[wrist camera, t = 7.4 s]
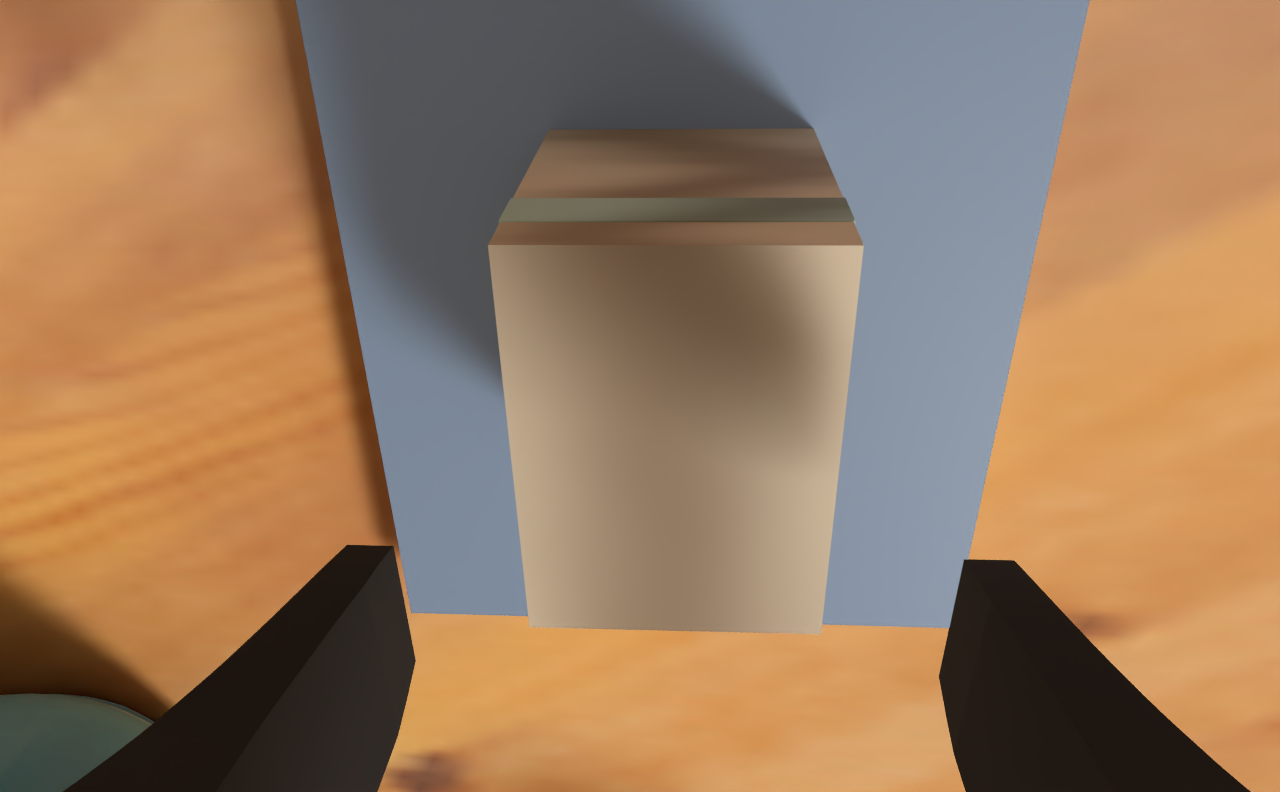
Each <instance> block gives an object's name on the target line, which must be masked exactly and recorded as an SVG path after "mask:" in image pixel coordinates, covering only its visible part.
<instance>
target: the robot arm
mask: <svg viewBox="0 0 1280 792" xmlns="http://www.w3.org/2000/svg"><path fill="white" fill-rule="evenodd" d="M415 661H416V660H415V655H414V650H413V645H412V640H411V635H410V629H409V624H408V619H407V614H406V609H405V604H404V599H403V593H402V588H401V583H400V578H399V573H398V568H397V562H396V557H395V552H394V547H393V546H367V545H347V546H345V547H344V548H343V549H342V550H341V551H340V552H339V553H338V554H337V555H336V556H335V557H334V558H333V559H332V560H331V561H330V562H328V563H327V564H326V565H325V566H324V567H323V568H322V569H321V570H320V571H319V572H318V573H317V574H316V575H315V576H314V577H313V578H312V579H311V580H310V581H309V582H308V583H307V584H306V585H305V586H304V587H303V588H302V589H301V590H300V591H299V592H298V593H297V594H296V595H294V596H293V597H292V598H291V599H290V600H289V601H288V602H287V603H286V604H285V605H284V606H283V607H282V608H281V609H280V610H279V611H278V612H277V613H276V614H275V615H274V616H273V617H272V618H271V619H270V620H269V621H268V622H267V623H266V624H264V625H263V626H262V627H261V628H260V629H259V630H258V631H257V632H256V633H255V634H254V635H253V636H252V637H251V638H250V639H248V640H247V641H246V642H245V643H244V644H243V645H242V646H241V647H240V648H239V649H238V650H237V651H236V652H235V653H233V654H232V655H231V656H230V657H229V658H228V659H227V660H226V661H225V662H224V663H223V664H222V665H220V666H219V667H218V668H217V669H216V670H215V671H214V672H213V673H212V674H210V675H209V676H208V677H207V678H206V679H205V680H203V681H202V682H201V683H200V684H199V685H198V686H196V687H195V688H194V689H193V690H192V691H191V692H189V693H188V694H187V695H186V696H185V697H184V698H183V699H181V700H180V701H179V702H178V703H177V704H176V705H174V706H173V707H172V708H171V709H170V710H169V711H167V712H166V713H165V714H164V715H163V716H162V717H160V718H159V719H158V720H157V721H155V722H154V723H153V724H152V725H151V726H149V727H148V728H147V729H146V730H144V731H143V732H142V733H141V734H139V735H138V736H137V737H135V738H134V739H133V740H132V741H130V742H129V743H128V744H126V745H125V746H124V747H123V748H121V749H120V750H119V751H117V752H116V753H115V754H113V755H112V756H111V757H109V758H108V759H107V760H105V761H104V762H102V763H101V764H100V765H98V766H97V767H96V768H94V769H93V770H92V771H90V772H89V773H88V774H86V775H85V776H84V777H82V778H81V779H79V780H78V781H77V782H75V783H74V784H73V785H71V786H70V787H68V788H67V789H65V790H64V791H63V792H377V791H378V789H379V786H380V783H381V780H382V778H383V775H384V772H385V770H386V767H387V764H388V761H389V759H390V756H391V753H392V750H393V748H394V745H395V742H396V739H397V736H398V733H399V729H400V725H401V721H402V717H403V713H404V709H405V705H406V701H407V696H408V692H409V687H410V683H411V679H412V674H413V670H414V665H415ZM939 679H940V684H941V690H942V695H943V701H944V706H945V712H946V717H947V722H948V727H949V732H950V737H951V742H952V747H953V752H954V756H955V759H956V762H957V765H958V769H959V772H960V775H961V778H962V781H963V784H964V787H965V791H966V792H1250V791H1249V790H1248V789H1247V788H1245V787H1244V786H1243V785H1242V784H1241V783H1240V782H1238V781H1237V780H1236V779H1235V778H1234V777H1232V776H1231V775H1230V774H1229V773H1228V772H1227V771H1225V770H1224V769H1223V768H1222V767H1221V766H1220V765H1218V764H1217V763H1216V762H1215V761H1214V760H1213V759H1212V758H1211V757H1210V756H1208V755H1207V754H1206V753H1205V752H1204V751H1203V750H1202V749H1201V748H1200V747H1198V746H1197V745H1196V744H1195V743H1194V742H1193V741H1192V740H1191V739H1190V738H1189V737H1187V736H1186V735H1185V734H1184V733H1183V732H1182V731H1181V730H1180V729H1179V728H1177V727H1176V726H1175V725H1174V724H1173V723H1172V722H1171V721H1170V720H1169V719H1168V718H1167V717H1166V716H1165V715H1163V714H1162V713H1161V712H1160V711H1159V710H1158V709H1157V708H1156V707H1155V706H1154V705H1153V704H1152V703H1151V702H1150V701H1149V700H1148V699H1147V698H1146V697H1145V696H1144V695H1143V694H1142V693H1141V692H1140V691H1139V690H1138V689H1137V688H1136V687H1135V686H1134V685H1133V684H1132V683H1131V682H1130V681H1129V680H1128V679H1127V678H1126V677H1125V676H1124V675H1123V674H1122V673H1121V672H1120V671H1119V670H1118V669H1117V668H1116V667H1115V666H1114V665H1113V664H1112V663H1111V662H1110V661H1109V660H1108V659H1107V658H1106V657H1105V656H1104V655H1103V654H1102V653H1101V652H1100V651H1099V650H1098V649H1097V648H1096V647H1095V646H1094V645H1093V644H1092V643H1091V642H1090V641H1089V640H1088V639H1087V638H1086V636H1085V635H1084V634H1083V633H1082V632H1081V631H1080V630H1079V629H1078V628H1077V627H1076V626H1075V625H1074V624H1073V623H1072V622H1071V621H1070V620H1069V618H1068V617H1067V616H1066V615H1065V614H1064V613H1063V612H1062V611H1061V610H1060V609H1059V608H1058V607H1057V606H1056V605H1055V603H1054V602H1053V601H1052V600H1051V599H1050V598H1049V597H1048V596H1047V595H1046V594H1045V593H1044V592H1043V591H1042V590H1041V588H1040V587H1039V586H1038V585H1037V584H1036V583H1035V582H1034V581H1033V580H1032V579H1031V578H1030V577H1029V576H1028V575H1027V574H1026V572H1025V571H1024V570H1023V569H1022V568H1021V567H1020V566H1019V565H1018V564H1017V563H1016V562H1015V561H1010V560H967V559H964V562H963V567H962V571H961V576H960V581H959V585H958V590H957V595H956V599H955V604H954V609H953V613H952V618H951V623H950V627H949V632H948V637H947V641H946V646H945V651H944V655H943V660H942V665H941V669H940V674H939Z"/></svg>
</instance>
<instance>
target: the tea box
mask: <svg viewBox="0 0 1280 792" xmlns="http://www.w3.org/2000/svg"><path fill="white" fill-rule="evenodd" d="M863 249H864V245H863V242H862V240H861V238H860V235H859V233H858V231H857V228H856V226H855V219H854V216H853V214H852V212H851V209H850V207H849V205H848V202H847V200H846V198H843V196H842V193H841V191H840V189H839V186H838V184H837V182H836V179H835V177H834V175H833V172H832V170H831V168H830V165H829V163H828V161H827V158H826V156H825V154H824V151H823V149H822V147H821V144H820V142H819V140H818V137H817V135H816V133H815V130H814V128H797V129H614V130H549V131H548V133H547V135H546V136H545V138H544V140H543V142H542V144H541V146H540V148H539V150H538V151H537V153H536V155H535V157H534V159H533V161H532V163H531V165H530V167H529V168H528V170H527V172H526V174H525V176H524V178H523V180H522V182H521V184H520V185H519V187H518V189H517V191H516V193H515V195H514V197H513V198H510V200H509V202H508V204H507V206H506V208H505V210H504V212H503V213H502V215H501V217H500V219H499V225H498V227H497V229H496V231H495V233H494V234H493V236H492V238H491V240H490V242H489V244H488V251H489V260H490V269H491V279H492V288H493V297H494V306H495V315H496V325H497V334H498V343H499V352H500V361H501V370H502V380H503V389H504V398H505V407H506V416H507V426H508V435H509V444H510V453H511V462H512V471H513V481H514V490H515V499H516V508H517V517H518V527H519V536H520V545H521V554H522V563H523V572H524V582H525V591H526V600H527V609H528V618H529V627H541V628H583V629H625V630H667V631H709V632H751V633H793V634H821V629H822V620H823V611H824V602H825V593H826V584H827V575H828V566H829V557H830V548H831V539H832V530H833V521H834V512H835V503H836V494H837V485H838V475H839V466H840V457H841V448H842V439H843V430H844V421H845V412H846V403H847V394H848V385H849V376H850V367H851V358H852V349H853V340H854V331H855V321H856V312H857V303H858V294H859V285H860V276H861V267H862V258H863Z"/></svg>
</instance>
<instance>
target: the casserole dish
mask: <svg viewBox="0 0 1280 792" xmlns="http://www.w3.org/2000/svg"><path fill="white" fill-rule="evenodd" d="M153 723H154V722H153V721H152V720H150V719H148V718H147V717H145V716H143V715H141V714H139V713H137V712H135V711H133V710H131V709H129V708H127V707H125V706H123V705H120V704H116V703H112V702H109V701H105V700H102V699H96V698H91V697H86V696H75V695H64V694H11V695H0V792H63V791H64V790H65V789H67V788H68V787H70V786H71V785H73V784H74V783H75V782H77V781H78V780H79V779H81V778H82V777H84V776H85V775H86V774H88V773H89V772H90V771H92V770H93V769H94V768H96V767H97V766H98V765H100V764H101V763H102V762H104V761H105V760H107V759H108V758H109V757H111V756H112V755H113V754H115V753H116V752H117V751H119V750H120V749H121V748H123V747H124V746H125V745H126V744H128V743H129V742H130V741H132V740H133V739H134V738H135V737H137V736H138V735H139V734H141V733H142V732H143V731H144V730H146V729H147V728H148V727H149V726H151V725H152V724H153Z"/></svg>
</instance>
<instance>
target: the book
mask: <svg viewBox="0 0 1280 792" xmlns="http://www.w3.org/2000/svg"><path fill="white" fill-rule="evenodd" d="M1088 5H1089V0H296V6H297V11H298V16H299V21H300V27H301V32H302V37H303V43H304V48H305V53H306V58H307V64H308V69H309V74H310V80H311V85H312V90H313V95H314V101H315V106H316V111H317V117H318V122H319V127H320V133H321V138H322V143H323V148H324V154H325V159H326V164H327V170H328V175H329V180H330V185H331V191H332V196H333V201H334V207H335V212H336V217H337V223H338V228H339V233H340V238H341V244H342V249H343V254H344V260H345V265H346V270H347V275H348V281H349V286H350V291H351V297H352V302H353V307H354V312H355V318H356V323H357V328H358V334H359V339H360V344H361V350H362V355H363V360H364V365H365V371H366V376H367V381H368V387H369V392H370V397H371V402H372V408H373V413H374V418H375V424H376V429H377V434H378V439H379V445H380V450H381V455H382V461H383V466H384V471H385V477H386V482H387V487H388V492H389V498H390V503H391V508H392V514H393V519H394V524H395V529H396V535H397V540H398V545H399V551H400V556H401V561H402V567H403V572H404V577H405V582H406V588H407V593H408V598H409V604H410V609H411V613H437V614H473V615H508V616H528V609H527V600H526V591H525V582H524V572H523V563H522V554H521V545H520V536H519V527H518V517H517V508H516V499H515V490H514V481H513V471H512V462H511V453H510V444H509V435H508V426H507V416H506V407H505V398H504V389H503V380H502V370H501V361H500V352H499V343H498V334H497V325H496V315H495V306H494V297H493V288H492V279H491V269H490V260H489V251H488V244H489V242H490V240H491V238H492V236H493V234H494V233H495V231H496V229H497V227H498V225H499V219H500V217H501V215H502V213H503V212H504V210H505V208H506V206H507V204H508V202H509V200H510V198H513V197H514V195H515V193H516V191H517V189H518V187H519V185H520V184H521V182H522V180H523V178H524V176H525V174H526V172H527V170H528V168H529V167H530V165H531V163H532V161H533V159H534V157H535V155H536V153H537V151H538V150H539V148H540V146H541V144H542V142H543V140H544V138H545V136H546V135H547V133H548V131H549V130H614V129H797V128H814V130H815V133H816V135H817V137H818V140H819V142H820V144H821V147H822V149H823V151H824V154H825V156H826V158H827V161H828V163H829V165H830V168H831V170H832V172H833V175H834V177H835V179H836V182H837V184H838V186H839V189H840V191H841V193H842V196H843V198H846V200H847V202H848V205H849V207H850V209H851V212H852V214H853V216H854V219H855V226H856V228H857V231H858V233H859V235H860V238H861V240H862V242H863V245H864V249H863V258H862V267H861V276H860V285H859V294H858V303H857V312H856V321H855V331H854V340H853V349H852V358H851V367H850V376H849V385H848V394H847V403H846V412H845V421H844V430H843V439H842V448H841V457H840V466H839V475H838V485H837V494H836V503H835V512H834V521H833V530H832V539H831V548H830V557H829V566H828V575H827V584H826V593H825V602H824V611H823V620H822V624H828V625H863V626H899V627H934V628H949V627H950V623H951V618H952V613H953V609H954V604H955V599H956V595H957V590H958V585H959V581H960V576H961V571H962V567H963V562H964V559H967V560H968V557H969V553H970V548H971V544H972V539H973V534H974V530H975V525H976V521H977V516H978V511H979V507H980V502H981V497H982V493H983V488H984V484H985V479H986V474H987V470H988V465H989V461H990V456H991V451H992V447H993V442H994V438H995V433H996V428H997V424H998V419H999V415H1000V410H1001V405H1002V401H1003V396H1004V392H1005V387H1006V382H1007V378H1008V373H1009V369H1010V364H1011V359H1012V355H1013V350H1014V346H1015V341H1016V336H1017V332H1018V327H1019V323H1020V318H1021V313H1022V309H1023V304H1024V300H1025V295H1026V290H1027V286H1028V281H1029V277H1030V272H1031V267H1032V263H1033V258H1034V253H1035V249H1036V244H1037V240H1038V235H1039V230H1040V226H1041V221H1042V217H1043V212H1044V207H1045V203H1046V198H1047V194H1048V189H1049V184H1050V180H1051V175H1052V171H1053V166H1054V161H1055V157H1056V152H1057V148H1058V143H1059V138H1060V134H1061V129H1062V125H1063V120H1064V115H1065V111H1066V106H1067V102H1068V97H1069V92H1070V88H1071V83H1072V79H1073V74H1074V69H1075V65H1076V60H1077V56H1078V51H1079V46H1080V42H1081V37H1082V33H1083V28H1084V23H1085V19H1086V14H1087V9H1088Z"/></svg>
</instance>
